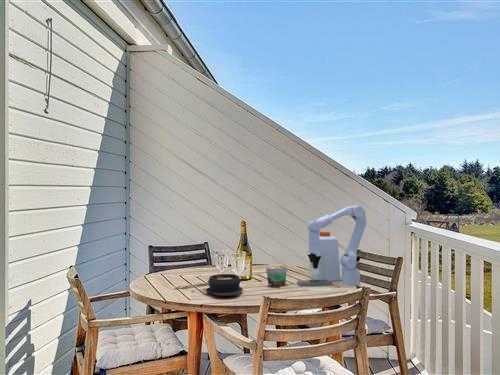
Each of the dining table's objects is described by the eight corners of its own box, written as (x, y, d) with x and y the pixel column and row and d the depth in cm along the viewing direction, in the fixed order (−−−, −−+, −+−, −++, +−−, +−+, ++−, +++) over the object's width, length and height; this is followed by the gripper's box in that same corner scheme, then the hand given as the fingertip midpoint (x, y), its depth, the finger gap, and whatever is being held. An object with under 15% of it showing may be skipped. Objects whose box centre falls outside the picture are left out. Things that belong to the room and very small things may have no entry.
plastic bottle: (308, 278, 234) (307, 231, 235) (330, 276, 238) (330, 230, 239) (319, 283, 219) (318, 233, 220) (343, 281, 223) (342, 232, 224)
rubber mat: (328, 287, 208) (328, 286, 208) (334, 291, 200) (334, 290, 200) (307, 288, 206) (307, 287, 206) (311, 292, 198) (311, 291, 198)
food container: (269, 288, 207) (269, 269, 207) (265, 286, 212) (265, 267, 213) (291, 287, 210) (291, 268, 210) (287, 284, 216) (286, 266, 216)
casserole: (204, 288, 207) (204, 272, 208) (238, 287, 211) (238, 271, 211) (208, 300, 183) (208, 282, 183) (247, 298, 186) (247, 280, 187)
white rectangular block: (317, 273, 215) (317, 262, 215) (319, 274, 212) (318, 263, 212) (309, 273, 214) (309, 262, 215) (310, 274, 211) (310, 263, 212)
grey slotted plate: (328, 283, 217) (328, 278, 217) (332, 286, 211) (332, 280, 211) (297, 285, 215) (297, 279, 215) (300, 287, 209) (300, 281, 209)
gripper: (303, 241, 220) (303, 265, 220) (311, 244, 206) (311, 270, 206) (315, 241, 221) (315, 265, 221) (323, 244, 207) (324, 270, 207)
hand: (314, 267), depth 213 cm, fingers closed on white rectangular block, 3 cm apart
